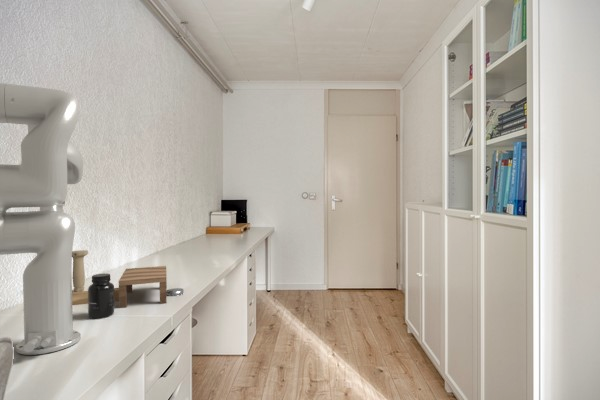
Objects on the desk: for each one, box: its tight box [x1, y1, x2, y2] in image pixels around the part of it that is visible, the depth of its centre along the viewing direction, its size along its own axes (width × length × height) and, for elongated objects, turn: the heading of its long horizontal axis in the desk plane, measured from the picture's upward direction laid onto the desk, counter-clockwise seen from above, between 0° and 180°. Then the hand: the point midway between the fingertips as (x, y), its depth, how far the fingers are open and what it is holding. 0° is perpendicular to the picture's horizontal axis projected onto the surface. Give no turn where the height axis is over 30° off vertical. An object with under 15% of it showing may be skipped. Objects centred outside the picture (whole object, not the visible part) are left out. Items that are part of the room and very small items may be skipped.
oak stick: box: [72, 287, 119, 306], centre depth 122 cm, size 2×24×4 cm, turn 113°
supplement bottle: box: [87, 273, 115, 319], centre depth 109 cm, size 7×7×12 cm
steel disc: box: [166, 287, 185, 297], centre depth 132 cm, size 6×6×2 cm
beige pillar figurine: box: [72, 249, 89, 292], centre depth 138 cm, size 5×6×15 cm
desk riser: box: [118, 265, 168, 309], centre depth 128 cm, size 22×14×8 cm, turn 20°
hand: (52, 254), depth 119 cm, fingers open, 9 cm apart
